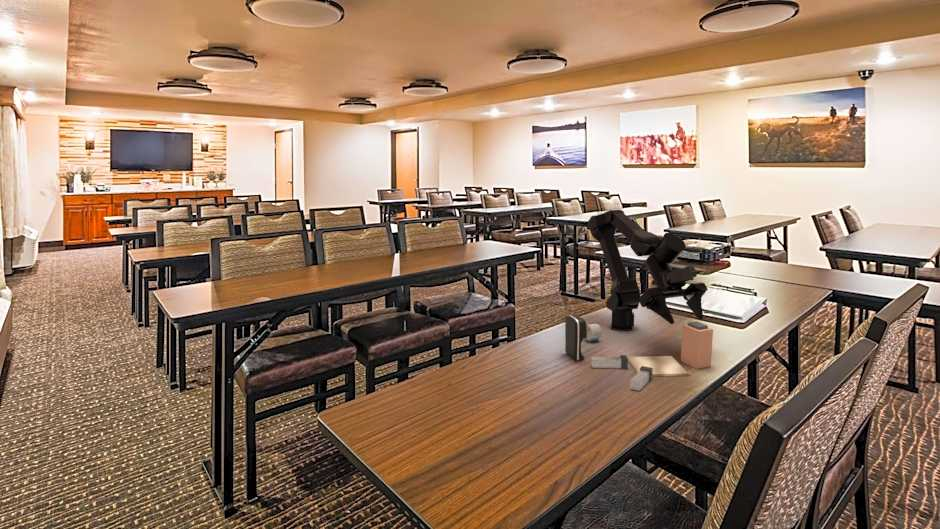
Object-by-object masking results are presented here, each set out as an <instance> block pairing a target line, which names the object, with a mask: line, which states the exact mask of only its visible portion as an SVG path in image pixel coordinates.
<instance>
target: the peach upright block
mask: <svg viewBox="0 0 940 529" xmlns="http://www.w3.org/2000/svg"><path fill="white" fill-rule="evenodd" d="M681 326H682V328H681V329H682V330H681V348H680V349H681V350H680V362H682V361H683V362H682V363H684V362H685V363H684V364H686V363H687V364H686V365H688V364H689V365H688V366H691V368H694V369H696V370H697V369H703V368H709V367H711V366H712V353H713V339H714V337H713V336H714V329H712V328H710V327H709V325H707V324H705V323H702V322H699V321H691V322H687V324H682V325H681Z"/></svg>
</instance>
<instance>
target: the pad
mask: <svg viewBox="0 0 940 529" xmlns="http://www.w3.org/2000/svg"><path fill="white" fill-rule="evenodd" d="M627 358H628V363H629V365H630V366H631V367H632V368H633V370H634V371H635V373H636V374H637V373H638V372H639V371H640V368H641V367H642V366H645V367H650V368H653V374H652V377H687V376H689V375H690V374H689V372H688V371H687V370H686V369H685V368H683V366H682V364H680V363H679V362H678V361H677V360H676V359H675V358H674V357H673V356H672V355H661V356H660V355H656V356H653V355H652V356H646V355H645V356H627Z"/></svg>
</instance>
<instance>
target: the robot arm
mask: <svg viewBox="0 0 940 529" xmlns="http://www.w3.org/2000/svg"><path fill="white" fill-rule="evenodd" d="M587 227H588V229H589V232H590V234H591V236H592V237H593V238H594V239H595V240H596V241H597V242H598V243H599V245H600V248H601V251H602V254H603V257H604V260H605V262H606V266H607V270H608V273H609V275H610V278H611V282H612V284H611V288H610V296H609V297H608V299H607V300H605V306H606V308H607V309H608V310H610V311H611V324H610V325H611V326H610V329H611V330H617V331H618V330H622V331H633V328H634V327H635V313H634V312H633V310H638V309H639V305H640V306H641V307H642V308H646V309H647V310H650V311H652V312H654V313H655V314H657V315H659V316H660V317H661V318H662V319H663V320H665V321H666V322H668V323H669V324H670V325H673V324H674V323H675V320H674V318H673V315H672V313H671V311H670V308H669V307H668V305H667V302H666V299H671V298H679V297H682V298H683V300H685V301H686V302H685V304H686V305H687V307H689V309H690V310H691V312H692V313H693V314H694V315H695V317H697V319H698V320H699V321H702V320H703V319H704V314H703V307H702V306H703V305H702V297H703V296H704V295H705V294H706V292H707V291H708V290H709V289H708V287H707V285H706V283H705V282H701V281H698V282H692V283H690V284H689V285H688V286H687V287H686V288H683V287H685V286H686V285H687V283H686V282H689V281H693V280H694V278H696V277H697V276H698V273H697V269H696V268H695V267H694V265H687V266H685V267H683V268H677V269H673V268H672V267H671V265H670V264H673V263H674V262H675V261H676V260H677V259H678V257H679V256H680V255H681V254H682V253H683V252H684V251H685V249H686V242H685V241H684V240H683V239H681V238H680V237H678V236H677V235H674V234H673V232H665V233H664V234H663V236H662V238H660V236H658V235H656V234H655V233H653V232H650V231H647V230H644V229H643V228H642V227H640V226H639V225H638V224H636V223H635V222H634V221H633V220H632V219H631V218H630V217H628V216H627V214H625V212H624V210H622V209H608V211H605V212H604V213H601V214H597V215H591V216H590V217H589V219H588V220H587ZM616 231H618V232H619V233H621V234H622V235H623V237H625V238H626V239H627V240H628V241H629V243H630V248H631V250H632V251H633V253H634V254H635V255H636V256H637V257H647V258H646V259H643V260H642V261H643V262H642V265H641V269H642V270H648V271H649V275H650V276H651V278H652V281H651V286H656V287H650V288H649V287H647V288H646V289H645V291H643V292H642V294H641V289H640V288H639V285H638V282H637V280H636V279H633V278H632V279H631V278H630V277H629V276H628V273H627V270H626V268H625V265H624V262H623V259H622V257H621V256H622V255H621V253H620V250H619V248H618V245H617V244H618V243H617V241H616V239H615V238H616V237H615V235H616Z"/></svg>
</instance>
